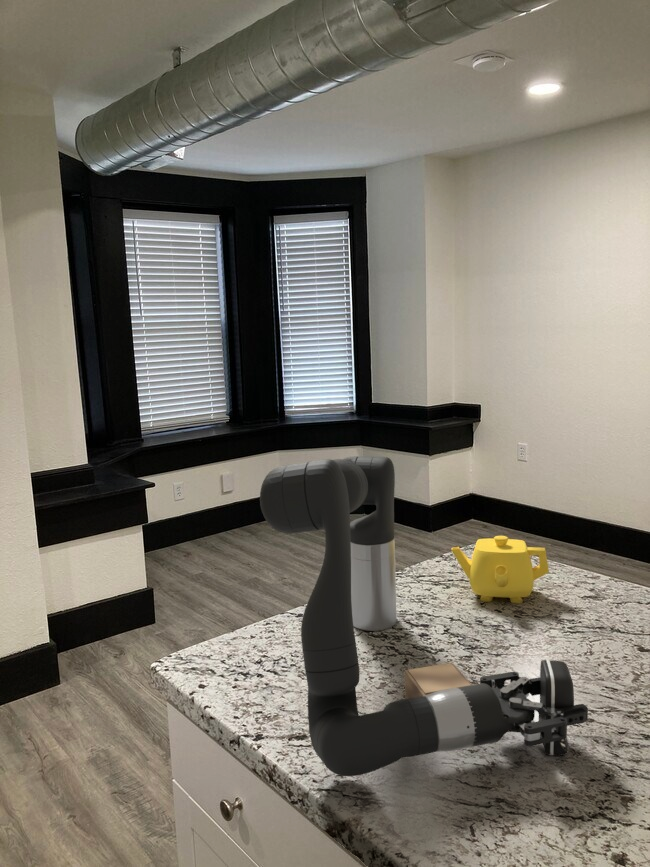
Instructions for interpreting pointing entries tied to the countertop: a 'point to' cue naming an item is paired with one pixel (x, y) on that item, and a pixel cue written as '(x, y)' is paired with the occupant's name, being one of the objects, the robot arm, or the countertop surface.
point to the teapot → (502, 568)
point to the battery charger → (555, 696)
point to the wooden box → (433, 679)
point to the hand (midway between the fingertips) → (569, 697)
